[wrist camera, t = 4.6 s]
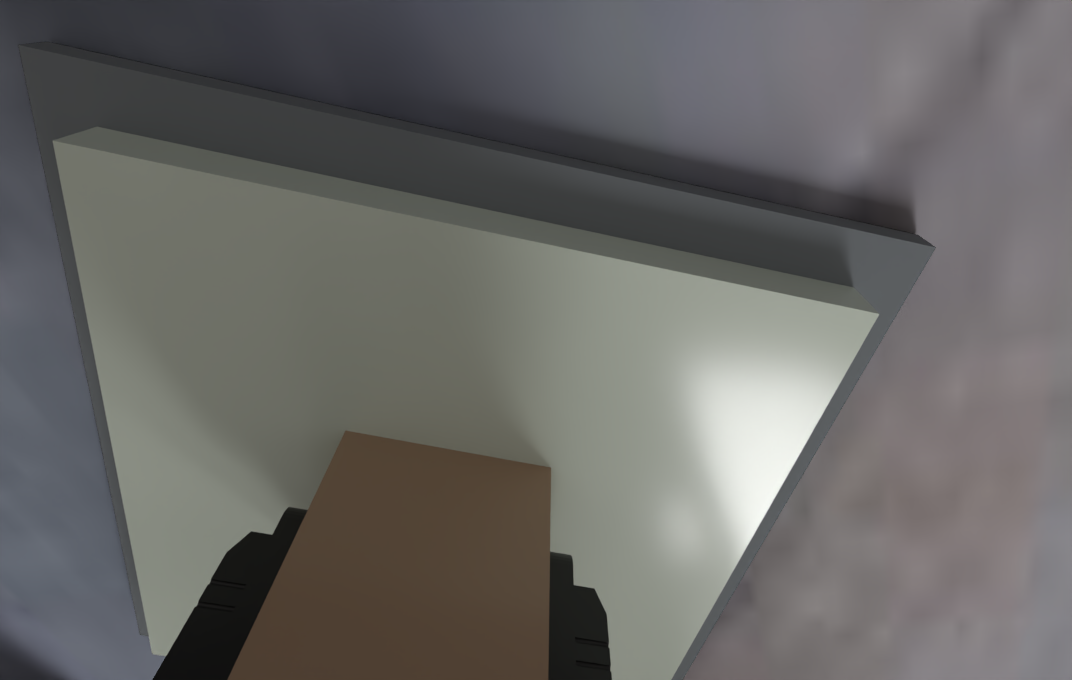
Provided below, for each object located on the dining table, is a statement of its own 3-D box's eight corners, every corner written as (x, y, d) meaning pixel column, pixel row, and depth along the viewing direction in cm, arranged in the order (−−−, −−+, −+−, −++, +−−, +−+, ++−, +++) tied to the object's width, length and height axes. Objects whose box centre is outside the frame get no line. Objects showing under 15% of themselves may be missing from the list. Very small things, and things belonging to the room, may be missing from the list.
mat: (917, 235, 11) (936, 247, 10) (660, 692, 18) (662, 713, 18) (46, 41, 10) (18, 44, 9) (152, 615, 17) (139, 634, 17)
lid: (853, 287, 11) (1127, 568, 6) (640, 689, 17) (675, 990, 12) (96, 126, 10) (-422, 288, 5) (173, 618, 16) (-6, 914, 11)
